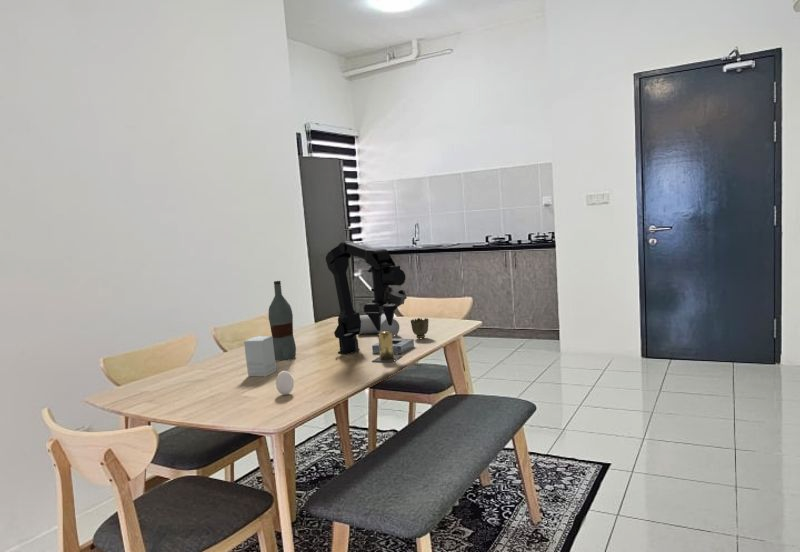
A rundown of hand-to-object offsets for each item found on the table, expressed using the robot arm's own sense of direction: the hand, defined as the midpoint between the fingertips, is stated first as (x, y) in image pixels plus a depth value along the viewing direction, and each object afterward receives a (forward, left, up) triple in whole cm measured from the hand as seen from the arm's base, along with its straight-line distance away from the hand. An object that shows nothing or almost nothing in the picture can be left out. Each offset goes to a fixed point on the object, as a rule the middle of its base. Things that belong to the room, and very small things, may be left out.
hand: (384, 328), depth 205 cm
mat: (0, 0, -12) cm, 12 cm away
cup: (-1, +34, -12) cm, 36 cm away
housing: (-4, +14, -12) cm, 19 cm away
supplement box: (-37, -24, -12) cm, 46 cm away
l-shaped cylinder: (-23, +40, -12) cm, 48 cm away
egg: (-13, -43, -12) cm, 46 cm away
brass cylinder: (0, 0, -11) cm, 11 cm away
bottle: (-42, -4, -12) cm, 44 cm away
